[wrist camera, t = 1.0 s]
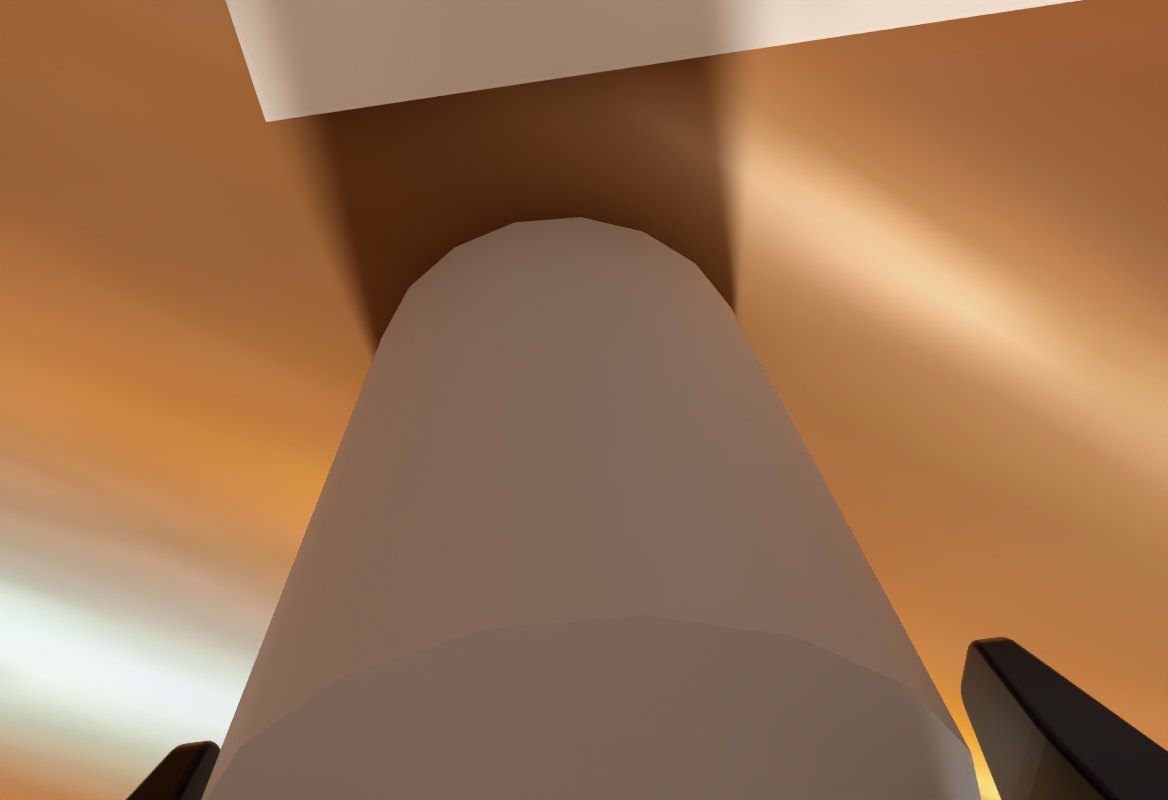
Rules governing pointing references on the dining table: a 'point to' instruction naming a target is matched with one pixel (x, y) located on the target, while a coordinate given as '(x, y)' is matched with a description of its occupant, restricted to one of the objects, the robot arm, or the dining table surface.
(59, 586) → the dining table surface
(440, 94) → the platter
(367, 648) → the can
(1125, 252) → the dining table surface
